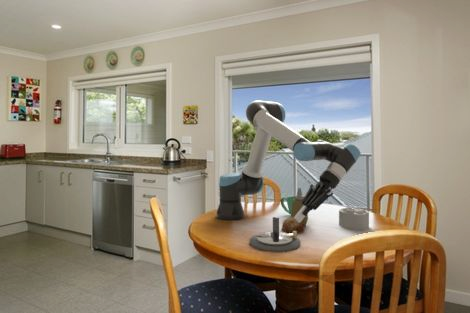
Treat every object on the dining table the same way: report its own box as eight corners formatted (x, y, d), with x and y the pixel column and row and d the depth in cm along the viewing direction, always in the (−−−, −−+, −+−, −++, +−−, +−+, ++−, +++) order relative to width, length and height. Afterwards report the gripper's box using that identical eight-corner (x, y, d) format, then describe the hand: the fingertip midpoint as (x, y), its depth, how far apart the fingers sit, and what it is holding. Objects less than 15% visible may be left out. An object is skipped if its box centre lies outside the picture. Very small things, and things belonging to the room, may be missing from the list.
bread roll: (283, 235, 143) (276, 220, 143) (302, 225, 144) (295, 210, 143) (288, 242, 134) (281, 226, 133) (309, 231, 134) (301, 215, 133)
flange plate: (250, 237, 125) (250, 212, 125) (284, 232, 132) (284, 208, 131) (268, 247, 112) (267, 220, 112) (303, 241, 119) (303, 215, 118)
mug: (308, 216, 165) (308, 197, 165) (298, 219, 158) (298, 200, 158) (286, 212, 176) (286, 194, 175) (275, 215, 169) (275, 197, 169)
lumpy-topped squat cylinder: (361, 231, 136) (361, 212, 136) (334, 226, 146) (334, 208, 145) (371, 226, 144) (371, 208, 143) (344, 221, 153) (344, 204, 153)
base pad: (242, 248, 116) (242, 237, 116) (257, 233, 135) (257, 224, 134) (295, 254, 109) (295, 243, 109) (303, 238, 127) (303, 228, 127)
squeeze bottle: (308, 223, 150) (308, 187, 150) (307, 227, 143) (307, 189, 142) (292, 222, 153) (292, 186, 152) (289, 226, 145) (289, 188, 145)
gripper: (348, 184, 119) (312, 230, 114) (327, 180, 132) (293, 222, 127) (337, 171, 117) (300, 218, 112) (317, 168, 129) (282, 210, 124)
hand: (296, 220), depth 119 cm, fingers closed
